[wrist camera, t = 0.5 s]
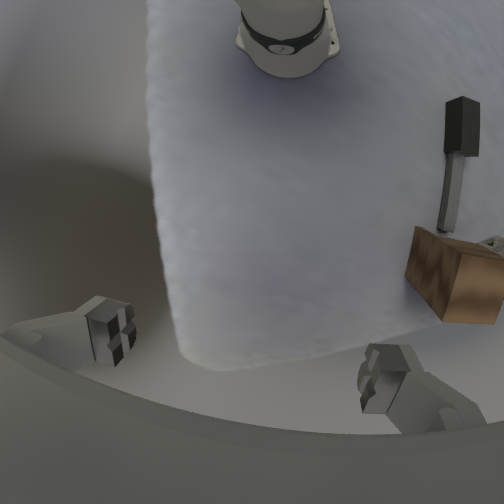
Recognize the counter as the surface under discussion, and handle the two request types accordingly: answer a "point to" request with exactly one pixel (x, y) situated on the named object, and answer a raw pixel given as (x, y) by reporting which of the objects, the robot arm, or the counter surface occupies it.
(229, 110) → the counter surface
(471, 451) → the robot arm
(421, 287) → the walnut cabinet
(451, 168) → the dark grey elongated piece
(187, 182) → the counter surface
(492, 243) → the coffee box
